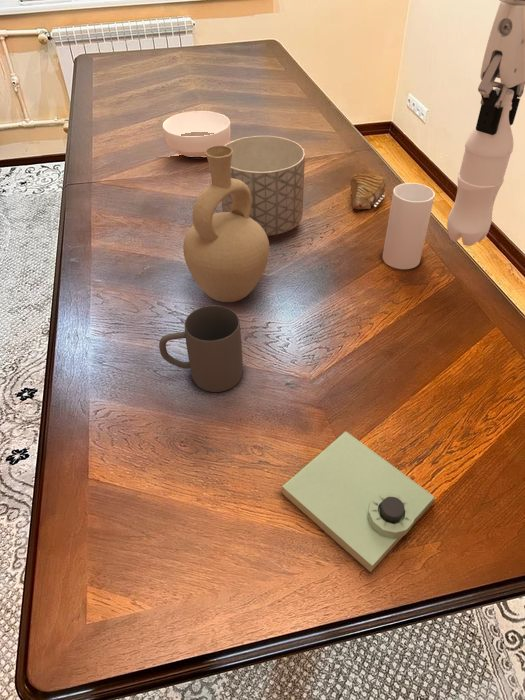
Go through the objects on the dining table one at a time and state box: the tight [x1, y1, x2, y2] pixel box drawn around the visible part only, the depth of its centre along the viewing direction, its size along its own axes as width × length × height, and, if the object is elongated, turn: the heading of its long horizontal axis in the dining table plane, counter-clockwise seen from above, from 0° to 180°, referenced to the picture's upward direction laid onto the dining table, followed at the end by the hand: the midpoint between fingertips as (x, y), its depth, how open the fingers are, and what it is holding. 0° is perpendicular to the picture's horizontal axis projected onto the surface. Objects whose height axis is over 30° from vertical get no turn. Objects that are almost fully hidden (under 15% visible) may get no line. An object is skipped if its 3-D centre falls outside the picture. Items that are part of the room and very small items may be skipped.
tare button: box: [380, 497, 405, 523], centre depth 71 cm, size 3×3×2 cm
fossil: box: [349, 173, 387, 210], centre depth 136 cm, size 12×6×9 cm
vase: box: [182, 146, 270, 303], centre depth 101 cm, size 17×17×30 cm
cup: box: [382, 182, 436, 270], centre depth 114 cm, size 8×8×16 cm
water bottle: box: [446, 87, 514, 247], centre depth 88 cm, size 7×7×25 cm
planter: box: [221, 135, 306, 237], centre depth 124 cm, size 19×19×18 cm
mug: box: [158, 304, 244, 393], centre depth 90 cm, size 14×9×12 cm
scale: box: [281, 431, 436, 573], centre depth 75 cm, size 16×14×4 cm
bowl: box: [162, 110, 231, 159], centre depth 159 cm, size 20×20×8 cm
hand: (494, 126), depth 83 cm, fingers closed on water bottle, 4 cm apart
